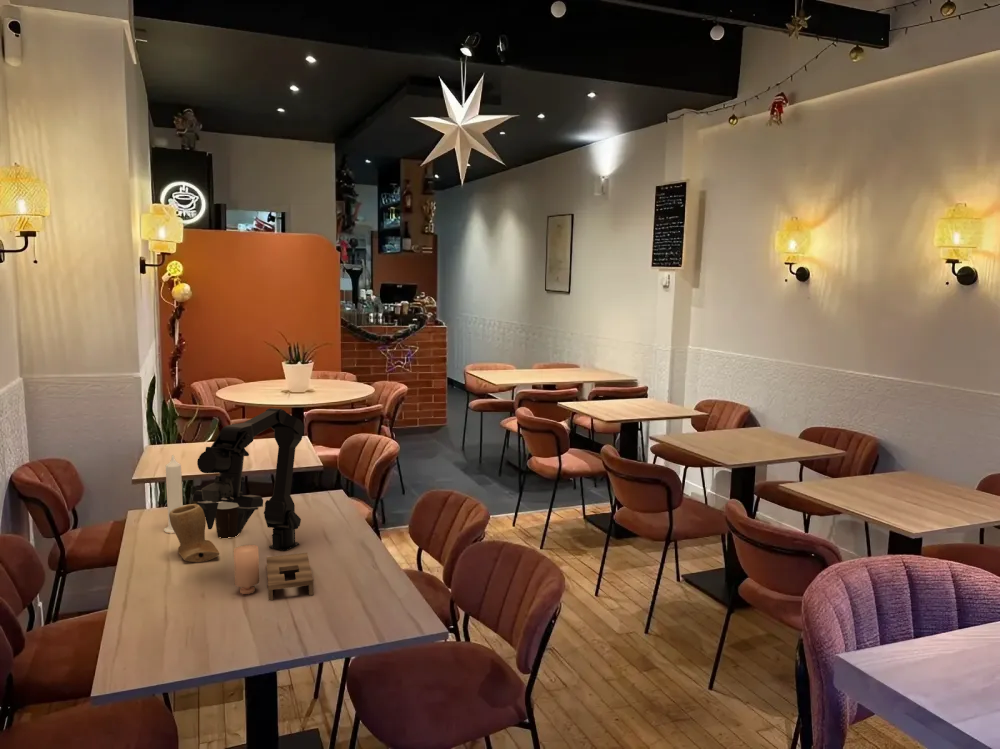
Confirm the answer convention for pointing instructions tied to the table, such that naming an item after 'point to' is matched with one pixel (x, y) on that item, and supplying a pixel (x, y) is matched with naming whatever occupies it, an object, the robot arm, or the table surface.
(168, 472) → the candle
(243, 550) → the terracotta peg
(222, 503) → the coffee mug
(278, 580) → the walnut keyhole board
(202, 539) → the stone cup
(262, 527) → the table surface
